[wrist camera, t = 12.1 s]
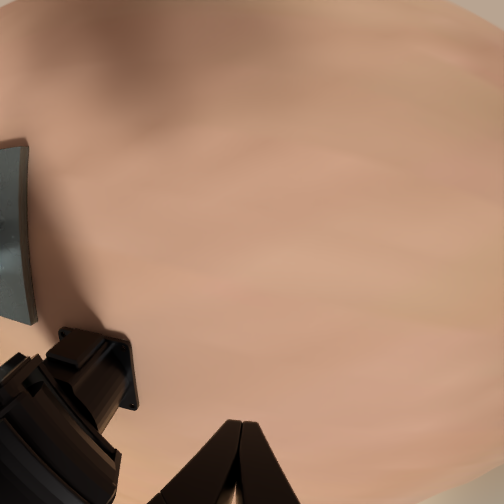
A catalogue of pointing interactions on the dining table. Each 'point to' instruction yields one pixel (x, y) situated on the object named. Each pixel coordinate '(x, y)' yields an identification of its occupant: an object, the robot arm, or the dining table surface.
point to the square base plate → (15, 238)
